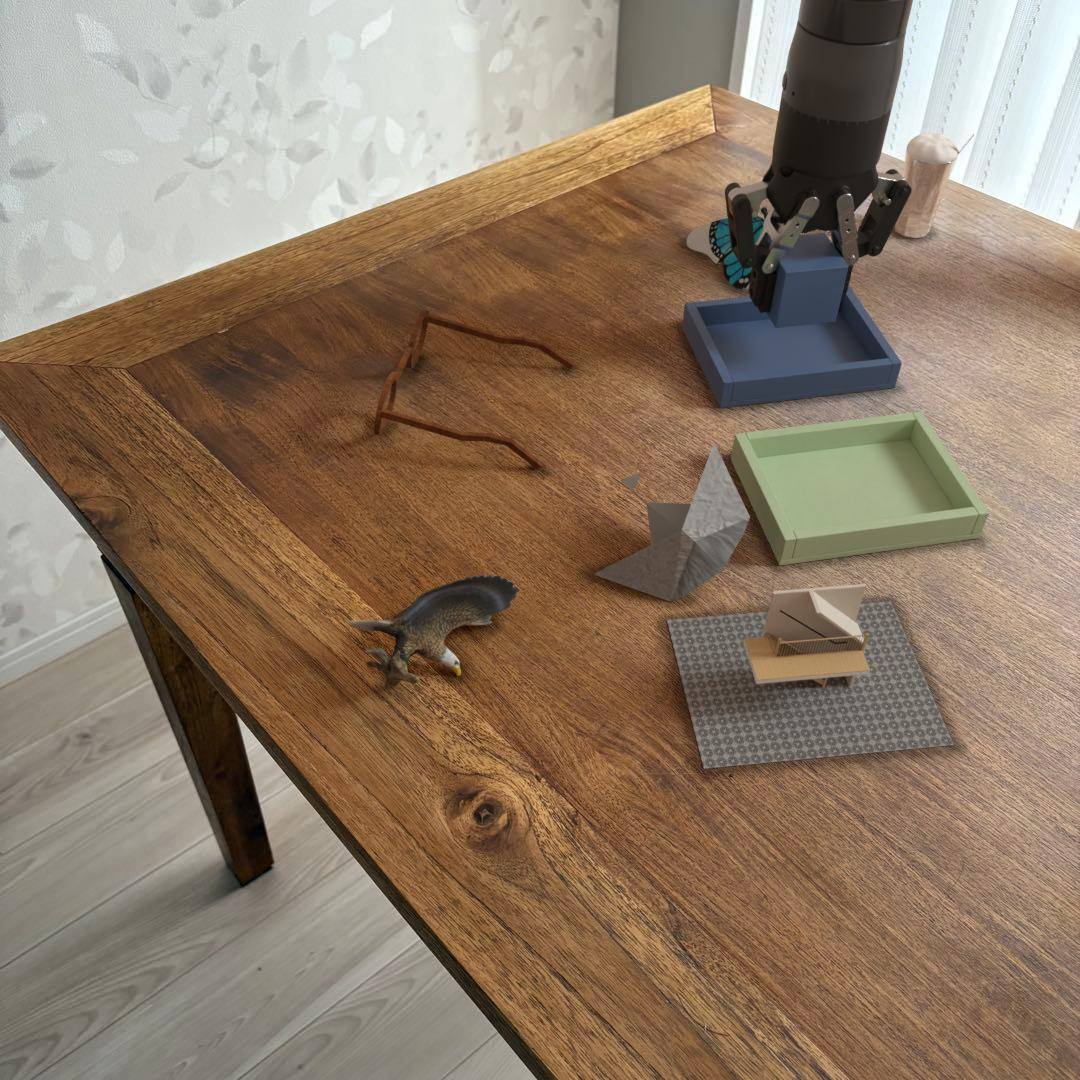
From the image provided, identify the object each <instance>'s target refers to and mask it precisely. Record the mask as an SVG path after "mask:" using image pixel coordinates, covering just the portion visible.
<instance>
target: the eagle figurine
mask: <svg viewBox="0 0 1080 1080" xmlns="http://www.w3.org/2000/svg"><path fill="white" fill-rule="evenodd" d="M501 576H502V575H500V574H499V575H493V574H489V575H484V574H481V575H472V576H467V577H464V578H460V579H456V580H455V581H451V582H449V583H446V584H441V585H439V586H436V587H434V588H432V589H430V590H427V591H424V592H423V593H421V594H420V595H419V596H416V597H415V598H414V599H413V601H412V602H411V604H410V605H408V606H407V607H406V608H405V609H404V608H403V609H402V610H401V611H400V612H398V613H397V614H396V615H394V616H393V617H392V618H388V619H379V620H376V619H361V620H349V621H348V623H349V624H350V626H351V627H353V628H358V629H361V630H365V631H368V632H379V633H383V634H386V635H388V636H390V637H393V638H394V643H395V644H394V645H393V651H392V654H391V655H390V656H388V653H387V652H386V651H385V649H384V648H382V647H378V648H367V649H366V650H364V654H367V655H374V656H375V657H376V658H377V659H378V661H379V662H380V663H379V662H378V661H376V660H367V661H366V665H367V667H369V668H373V669H374V668H375V669H376V670H377V671H378V672H381V673H382V674H383V675H384V677H385V680H384V688H385V690H390V689H391V688H392V687H394V686H395V687H396V686H398V685H400V684H401V683H402V681H403V682H406V683H409V684H412V685H416V684H417V683H418V682H419V681H420V677H419V676H418V675H416V674H414V673H411V672H409V671H408V664H409V662H410V659H411V658H412V657H413V656H414V655H416V654H417V655H420V656H422V657H423V658H424V659H427V660H430V661H433V662H437V663H438V664H441V665H443V666H445V667H446V668H447V669H450V670H451V671H453V673H455V675H456V676H457V677H460V676H461V675H462V670H461V666H460V660H459V659H458V657H457V656H456V655H455V654H454V652H452V651H451V650H450V648H448V647H447V646H446V645H445V639H446V637H447V636H448V635H449V634H450V633H451V632H452V631H454V630H455V629H456V628H460V627H464V626H488V625H492V623H493V622H492V620H491V619H492V615H496V614H499V613H501V612H503V611H505V610H508V609H509V608H510V607H511V605H512V601H513V600H515V599H516V598H517V593H518V592H519V591H520V589H519V587H517V586H514V585H515V582H514V581H512V580H509V579H508V578H507V577H501Z"/></svg>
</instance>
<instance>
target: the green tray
mask: <svg viewBox="0 0 1080 1080" xmlns="http://www.w3.org/2000/svg"><path fill="white" fill-rule="evenodd" d="M730 454H731V455H730V461H731V463H732V466H733V467H734V470H735V472H736V474H737V476H738V479H739V481H740V483H741V485H742V487H743V489H744V491H745V493H746V496H747V498H748V500H749V502H750V505H751V507H752V509H753V511H754V514H755V515H756V517H757V520H758V522H759V524H760V526H761V528H762V530H763V533H764V536H765V538H766V540H767V542H768V544H769V546H770V548H771V551H772V553H773V555H774V557H775V559H776V561H777V564H778V566H785V565H792V564H793V565H795V564H801V563H809V562H815V561H823V560H830V559H837V558H844V557H852V556H858V555H866V554H873V553H882V552H888V551H889V552H890V551H896V550H902V549H910V548H911V549H912V548H916V547H917V548H918V547H924V546H933V545H939V544H946V543H953V542H955V543H956V542H962V541H969V540H977V539H980V538H981V535H982V532H983V530H984V528H985V525H986V523H987V521H988V518H989V515H990V511H989V510H988V509H987V507H986V505H985V504H984V502H983V501H982V499H981V498H980V497H979V495H978V494H977V492H976V490H975V489H974V487H973V486H972V484H971V483H970V481H969V480H968V479H967V477H966V475H965V474H964V473H963V471H962V470H961V468H960V466H959V465H958V463H957V462H956V460H955V459H954V458H953V456H952V454H951V453H950V452H949V450H948V449H947V447H946V445H945V444H944V443H943V441H942V440H941V438H940V437H939V434H937V432H936V431H935V429H934V428H933V426H932V424H931V423H930V422H929V420H928V419H927V417H926V416H925V414H924V413H923V411H914V412H903V413H896V414H895V413H894V414H887V415H880V416H871V417H862V418H854V419H847V420H845V419H844V420H837V421H829V422H820V423H812V424H811V423H810V424H803V425H797V426H787V427H779V428H778V427H777V428H771V429H763V430H762V429H761V430H755V431H754V430H753V431H745V432H738V433H734V437H733V442H732V449H731V453H730Z"/></svg>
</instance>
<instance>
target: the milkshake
mask: <svg viewBox="0 0 1080 1080" xmlns="http://www.w3.org/2000/svg"><path fill="white" fill-rule="evenodd" d="M974 136H975V133H973V134H972V135H971V136H970V137H969V138H968V140H967V141H966V142H965V143H964V144H963V145H962V147H961V148H960V149H959V148H958V146H957V143H955V141H954V140H952V139H951V138H949V137H947V136H945V135H943V134H940V133H920V134H917V135H916V136H914V137H913V138H911V139H910V141H909V142H908V144H907V145H906V150H905V156H904V164H903V171H902V176H903V178H904V179H905V180H906V181H907V183H908V184H909V185H910V186H911V188H912V191H911V194H910V196H909V198H908V200H907V202H906V204H905V206H904V208H903V210H902V212H901V214H900V216H899V218H898V220H897V222H896V224H895V226H894V228H893V229H894V230H895V233H897V234H899V235H901V236H903V237H905V238H910V239H919V238H925V237H926V235H928V234H929V233H930V231H931V228H932V226H933V223H934V220H935V217H936V215H937V212H938V209H939V207H940V204H941V201H942V198H943V195H944V192H945V190H946V187H947V184H948V181H949V179H950V177H951V174H952V172H953V170H954V167H955V165H956V162H957V159H958V157H959V154H960V153H961V152H962V151H963V150H964V149H965V148H966V146H967V145H968V144H969V142H970V141H971V140H972V139H973V138H974Z"/></svg>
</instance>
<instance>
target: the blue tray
mask: <svg viewBox="0 0 1080 1080" xmlns="http://www.w3.org/2000/svg"><path fill="white" fill-rule="evenodd" d="M681 328H682V330H683V332H684V334H685V337H686V339H687V341H688V343H689V345H690V347H691V350H692V351H693V354H694V356H695V358H696V360H697V362H698V364H699V366H700V369H701V370H702V373H703V375H704V377H705V379H706V382H707V383H708V386H709V388H710V390H711V392H712V394H713V397H714V398H715V401H716V403H717V405H718V407H719V408H720V409H723V408H733V407H740V406H741V407H742V406H751V405H759V404H767V403H776V402H784V401H793V400H800V399H801V400H802V399H810V398H819V397H827V396H837V395H844V394H851V393H852V394H853V393H862V392H871V391H879V390H887V389H895V388H896V385H897V382H898V379H899V375H900V371H901V368H902V366H903V365H902V364H903V362H902V361H901V359H900V357H899V356H898V354H897V353H896V351H895V350H894V349H893V348H892V346H891V344H890V343H889V341H888V340H887V338H886V337H885V336H884V334H883V333H882V331H881V329H880V328H879V327H878V325H877V324H876V322H875V321H874V319H873V318H872V317H871V315H870V314H869V312H868V311H867V309H866V307H864V304H863V303H862V302H861V300H860V299H859V297H858V296H857V295H856V293H855V291H854V290H853V289H852V287H851V286H850V285H848V290H847V293H846V295H845V296H844V298H841V300H840V305H839V309H838V313H837V317H836V321H835V322H828V323H818V324H808V325H799V326H789V327H780V328H775V327H774V325H773V323H772V321H771V320H770V318H769V316H768V315H767V313H766V312H765V313H760V311H759V309H758V308H757V307H755V305H754V303H753V302H752V300H751V298H750V296H749V295H747V296H739V297H729V298H728V297H727V298H719V299H710V300H700V301H689V302H684V307H683V317H682V325H681Z"/></svg>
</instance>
